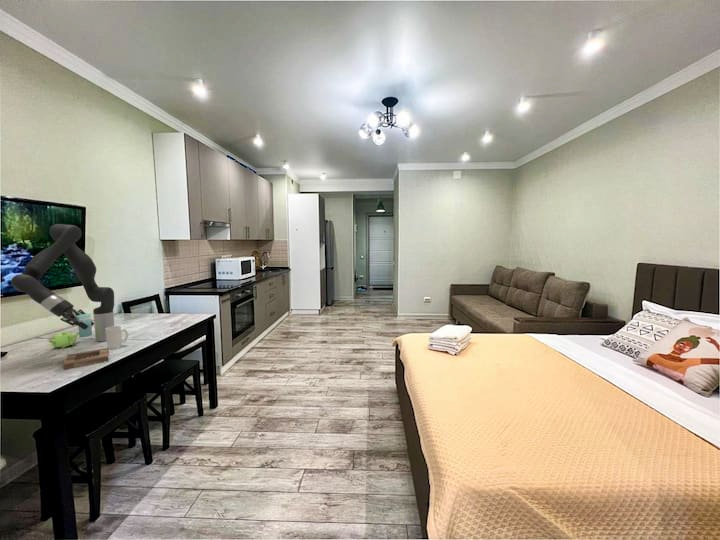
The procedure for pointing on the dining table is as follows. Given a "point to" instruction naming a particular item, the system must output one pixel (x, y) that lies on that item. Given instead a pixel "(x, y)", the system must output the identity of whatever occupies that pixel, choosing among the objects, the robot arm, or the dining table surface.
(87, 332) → the teal cylinder
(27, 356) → the dining table surface
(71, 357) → the wooden trivet
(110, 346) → the mug
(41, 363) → the dining table surface
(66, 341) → the teapot
